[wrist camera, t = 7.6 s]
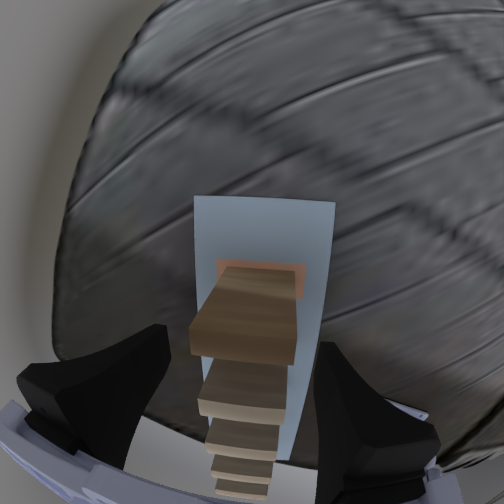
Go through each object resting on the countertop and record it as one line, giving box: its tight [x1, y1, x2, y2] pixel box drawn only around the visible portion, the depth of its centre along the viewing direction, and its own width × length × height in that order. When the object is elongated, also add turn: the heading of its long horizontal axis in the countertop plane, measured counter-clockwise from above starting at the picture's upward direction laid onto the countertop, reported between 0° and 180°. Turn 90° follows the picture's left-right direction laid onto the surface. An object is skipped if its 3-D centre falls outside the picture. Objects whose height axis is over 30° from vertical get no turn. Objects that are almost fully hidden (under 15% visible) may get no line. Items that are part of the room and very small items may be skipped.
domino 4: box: [211, 454, 273, 484], centre depth 21 cm, size 2×5×9 cm, turn 88°
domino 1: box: [188, 267, 297, 366], centre depth 16 cm, size 2×5×9 cm, turn 88°
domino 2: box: [198, 358, 288, 425], centre depth 18 cm, size 2×5×9 cm, turn 88°
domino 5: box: [215, 478, 268, 500], centre depth 22 cm, size 2×5×9 cm, turn 88°
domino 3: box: [205, 417, 280, 461], centre depth 19 cm, size 2×5×9 cm, turn 88°
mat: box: [194, 195, 335, 460], centre depth 23 cm, size 32×10×1 cm, turn 178°
